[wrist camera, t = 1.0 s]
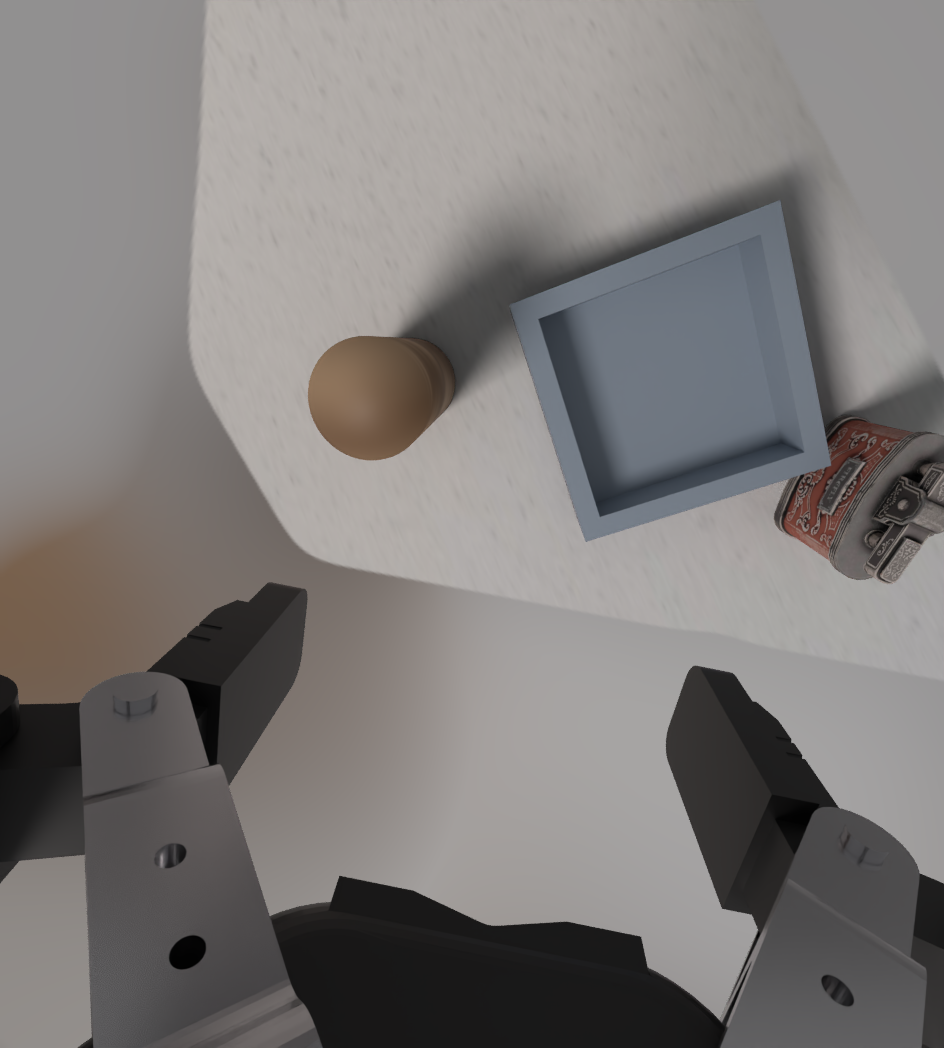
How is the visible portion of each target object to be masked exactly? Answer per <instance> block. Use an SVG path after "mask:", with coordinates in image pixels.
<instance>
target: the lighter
mask: <svg viewBox="0 0 944 1048" xmlns="http://www.w3.org/2000/svg"><path fill="white" fill-rule="evenodd" d="M824 430H825V435H826V440H827V445H828V451H829V456H830V461H831V466H828V467H825V468H822V469H819V470H815V471H812V472H809V473H806V474H802V475H799V476H796V477H793V478H790V479H789V480H788V482H787V484H786V486H785V488H784V490H783V493H782V495H781V498H780V500H779V503H778V506H777V508H776V511H775V514H774V521H775V525H776V526H777V527H778V529H779V530H781V531H782V532H783V533H785V534H786V535H788V536H790V537H791V538H795V539H799V540H800V541H802V542H803V543H804V544H806V545H807V546H809V547H810V548H812V549H813V550H815V551H816V552H818V553H819V554H820V555H822V556H823V557H825V558H826V559H828V560H829V561H830V563H831V564H832V566H833V567H834V568H835V569H836V570H838V571H839V572H841V573H842V574H844V575H845V576H847V577H848V578H852V579H856V580H866V579H869V578H872V577H874V578H875V579H877V580H878V581H880V582H882V583H885V584H893V583H895V582H896V581H897V580H898V579H899V578H900V576H901V575H902V574H903V572H904V571H905V569H906V568H907V567H908V565H909V564H910V562H911V561H912V560H913V558H914V557H915V555H916V554H917V553H918V551H919V550H920V548H921V547H922V546H923V544H924V543H925V541H926V540H927V538H928V537H930V536H932V535H934V534H938V533H941V532H943V531H944V436H943V435H939V434H935V433H930V432H915V433H913V432H909V431H904V430H900V429H895V428H891V427H886V426H882V425H877V424H873V423H871V422H869V421H868V420H866V419H864V418H860V417H855V416H851V415H848V416H841V417H838V418H835V419H834V420H833V421H832V422H830V423H829V424H828V426H827V427H826V428H825V429H824Z"/></svg>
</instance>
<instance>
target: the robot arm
mask: <svg viewBox="0 0 944 1048" xmlns="http://www.w3.org/2000/svg"><path fill="white" fill-rule="evenodd" d="M306 609H307V591H306V590H305V589H301V588H296V587H292V586H287V585H281V584H277V583H272V582H269V583H267V584H266V585H265V586H264V587H263V588H262V589H261V590H260V591H259V592H258V593H257V594H256V595H255V596H254V597H253V598H252V599H251V600H250V601H249V602H244V601H239V600H236V601H234V602H232V603H229V604H227V605H224V606H222V607H220V608H217V609H215V610H214V611H213V612H211V613H210V614H209V615H208V616H207V617H206V618H205V619H204V620H203V621H202V622H200V625H199V626H196V627H195V628H194V629H193V630H192V631H190V632H189V633H188V634H187V637H186V638H185V637H184V638H183V639H182V640H181V641H180V642H178V643H177V644H176V645H175V646H174V647H173V648H172V649H171V650H170V651H169V652H167V654H165V655H164V656H163V657H162V658H161V659H160V660H159V661H158V662H156V663H155V664H154V665H153V666H152V667H151V668H150V669H149V670H148V671H147V672H136V673H129V674H123V675H120V676H116V677H113V678H110V679H108V680H106V681H104V682H101V683H100V684H98V685H97V686H95V687H93V688H92V689H91V690H90V691H88V692H87V693H86V694H85V696H84V697H83V698H82V701H81V702H79V703H67V704H19V700H18V689H17V686H16V684H15V683H14V682H13V681H12V680H11V679H9V678H8V677H5V676H2V675H0V883H1V881H2V880H3V879H4V878H5V877H6V876H7V875H8V873H9V872H10V871H11V870H12V869H13V868H14V866H15V865H16V864H17V863H18V862H19V861H21V860H32V859H43V858H53V857H64V856H76V855H85V873H86V900H87V925H88V950H89V973H90V974H89V976H90V1001H91V1028H92V1038H90V1039H89V1040H88V1041H86V1042H85V1043H83V1044H82V1045H81V1046H79V1047H78V1048H944V884H943V883H941V882H939V881H936V880H934V879H931V878H929V877H927V876H925V875H922V874H920V873H919V870H918V866H917V864H916V862H915V860H914V859H913V857H912V856H911V855H910V853H909V852H908V851H907V850H906V848H905V847H904V846H903V845H902V844H901V843H900V842H899V841H898V840H896V839H895V838H894V837H893V836H892V835H891V834H889V833H888V832H887V831H885V830H884V829H883V828H881V827H880V826H878V825H876V824H875V823H873V822H872V821H870V820H868V819H866V818H864V817H862V816H860V815H858V814H855V813H853V812H850V811H847V810H844V809H840V808H839V807H838V806H837V805H836V803H835V802H834V800H833V799H832V797H831V796H830V795H829V793H828V792H827V790H826V789H825V787H824V786H823V784H822V783H821V782H820V780H819V779H818V777H817V776H816V774H815V773H814V771H813V770H812V769H811V767H810V766H809V765H808V763H807V761H806V760H805V759H802V754H801V753H800V751H799V750H798V748H797V747H796V745H795V744H794V743H791V738H790V737H789V735H788V734H787V733H786V731H785V730H784V728H783V727H782V725H781V724H780V723H779V721H778V720H777V719H776V718H774V717H773V716H772V715H771V714H770V713H769V712H768V711H766V710H765V709H764V708H763V707H762V706H761V705H759V704H758V703H757V702H753V701H752V700H751V699H750V697H749V696H748V694H747V693H746V691H745V690H744V688H743V687H742V685H741V684H740V682H739V681H738V679H737V677H736V676H735V675H734V674H733V673H730V672H725V671H720V670H715V669H710V668H705V667H700V666H693V667H692V668H691V669H690V670H689V672H688V674H687V676H686V679H685V682H684V685H683V688H682V690H681V693H680V696H679V699H678V702H677V705H676V708H675V710H674V714H673V716H672V719H671V722H670V725H669V728H668V732H667V738H666V753H667V759H668V762H669V765H670V768H671V771H672V773H673V776H674V779H675V781H676V784H677V787H678V790H679V792H680V795H681V798H682V800H683V803H684V806H685V809H686V811H687V814H688V817H689V820H690V822H691V825H692V828H693V831H694V833H695V836H696V839H697V841H698V844H699V847H700V850H701V852H702V855H703V858H704V860H705V863H706V866H707V869H708V872H709V874H710V877H711V880H712V882H713V885H714V888H715V891H716V893H717V896H718V899H719V902H720V904H721V907H722V909H727V910H732V911H737V912H742V913H747V914H752V916H753V918H754V921H755V923H756V925H757V928H758V931H757V933H756V936H755V938H754V940H753V942H752V944H751V947H750V949H749V951H748V954H747V956H746V959H745V961H744V963H743V965H742V968H741V970H740V973H739V975H738V977H737V980H736V982H735V985H734V987H733V989H732V991H731V994H730V996H729V998H728V1001H727V1003H726V1006H725V1008H724V1010H723V1013H722V1015H721V1017H720V1020H719V1019H718V1018H717V1017H716V1016H715V1015H714V1014H713V1013H712V1012H711V1011H710V1010H709V1009H707V1008H706V1007H705V1006H704V1005H703V1004H701V1003H700V1002H699V1001H698V1000H697V999H696V998H695V997H693V996H692V995H691V994H690V993H688V992H687V991H685V990H684V989H682V988H681V987H680V986H678V985H677V984H676V983H674V982H672V981H671V980H669V979H668V978H666V977H664V976H663V975H661V974H659V973H658V972H656V971H654V970H651V969H649V968H648V967H647V963H646V958H645V953H644V949H643V944H642V939H641V937H640V936H635V935H630V934H625V933H620V932H615V931H610V930H605V929H600V928H595V927H590V926H585V925H580V924H575V923H571V922H554V923H539V924H521V925H506V926H491V925H486V924H483V923H481V922H479V921H476V920H474V919H472V918H470V917H468V916H466V915H464V914H461V913H459V912H457V911H455V910H453V909H451V908H449V907H447V906H445V905H442V904H440V903H438V902H436V901H434V900H432V899H430V898H427V897H425V896H423V895H421V894H419V893H417V892H415V891H412V890H407V889H402V888H397V887H392V886H387V885H382V884H377V883H372V882H367V881H362V880H357V879H352V878H347V877H342V876H339V879H338V882H337V885H336V888H335V892H334V895H333V898H332V901H331V902H326V903H316V904H310V905H304V906H299V907H296V908H292V909H289V910H285V911H282V912H279V913H277V914H274V915H272V916H269V913H268V909H267V906H266V903H265V900H264V897H263V894H262V890H261V887H260V884H259V881H258V878H257V875H256V871H255V868H254V865H253V862H252V859H251V855H250V852H249V849H248V846H247V843H246V840H245V836H244V833H243V830H242V827H241V823H240V820H239V817H238V814H237V811H236V808H235V804H234V802H233V798H232V795H231V792H230V789H229V785H230V783H231V782H232V780H233V779H234V777H235V775H236V774H237V772H238V770H239V769H240V768H241V766H242V764H243V763H244V761H245V760H246V758H247V757H248V755H249V753H250V751H251V750H252V749H253V747H254V745H255V744H256V742H257V741H258V739H259V738H260V736H261V734H262V733H263V731H264V730H265V728H266V726H267V725H268V723H269V722H270V720H271V719H272V717H273V716H274V714H275V712H276V711H277V709H278V708H279V706H280V704H281V703H282V701H283V700H284V698H285V697H286V695H287V693H288V692H289V690H290V689H291V687H292V685H293V683H294V681H295V678H296V676H297V673H298V670H299V666H300V662H301V656H302V647H303V637H304V628H305V617H306Z"/></svg>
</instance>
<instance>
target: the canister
mask: <svg viewBox="0 0 944 1048" xmlns="http://www.w3.org/2000/svg"><path fill="white" fill-rule="evenodd" d="M454 390H455V376H454V371H453V367H452V365H451V363H450V361H449V359H448V358H447V356H446V355H445V354H444V352H443V351H442V350H440V349H439V348H438V347H437V346H435V345H434V344H432V343H430V342H428V341H425V340H422V339H415V338H396V337H375V336H358V337H352V338H349V339H345V340H343V341H341V342H339V343H337V344H335V345H334V346H332V347H331V348H329V349H328V350H327V351H326V352H325V353H324V354H323V355H322V357H321V358H320V359H319V360H318V362H317V364H316V365H315V367H314V369H313V372H312V374H311V378H310V381H309V388H308V401H309V407H310V412H311V415H312V418H313V420H314V422H315V424H316V426H317V428H318V430H319V431H320V433H321V434H322V436H323V437H324V438H325V439H326V440H327V441H328V442H329V443H330V444H331V445H332V446H333V447H335V448H336V449H338V450H339V451H341V452H343V453H344V454H346V455H349V456H351V457H354V458H358V459H363V460H381V459H386V458H389V457H392V456H395V455H397V454H399V453H400V452H402V451H404V450H405V449H406V448H408V447H409V446H410V445H411V444H412V443H413V442H414V441H415V440H416V439H417V438H418V437H419V436H420V435H421V434H422V433H423V432H424V431H425V430H426V429H427V428H428V427H429V426H430V425H431V424H432V423H433V422H434V421H435V420H436V419H437V418H438V417H439V416H440V415H441V414H442V413H443V412H444V411H445V410H446V408H447V407H448V406H449V404H450V402H451V400H452V397H453V394H454Z"/></svg>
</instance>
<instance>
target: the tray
mask: <svg viewBox="0 0 944 1048" xmlns="http://www.w3.org/2000/svg"><path fill="white" fill-rule="evenodd" d="M509 306H510V311H511V314H512V317H513V321H514V324H515V327H516V330H517V333H518V336H519V339H520V342H521V345H522V348H523V352H524V355H525V358H526V361H527V364H528V367H529V370H530V373H531V376H532V379H533V383H534V386H535V389H536V392H537V395H538V398H539V401H540V404H541V407H542V410H543V414H544V417H545V420H546V423H547V426H548V429H549V432H550V435H551V438H552V441H553V445H554V448H555V451H556V454H557V457H558V460H559V463H560V466H561V469H562V472H563V476H564V479H565V482H566V485H567V488H568V491H569V494H570V497H571V500H572V503H573V507H574V510H575V513H576V516H577V519H578V522H579V525H580V527H581V530H582V533H583V536H584V538H585V541H586V542H587V541H590V540H593V539H596V538H600V537H603V536H606V535H609V534H612V533H616V532H619V531H622V530H625V529H629V528H632V527H635V526H638V525H641V524H645V523H648V522H651V521H654V520H658V519H661V518H664V517H667V516H670V515H674V514H677V513H680V512H683V511H687V510H690V509H693V508H696V507H699V506H703V505H706V504H709V503H712V502H715V501H719V500H722V499H725V498H728V497H732V496H735V495H738V494H741V493H744V492H748V491H751V490H754V489H757V488H761V487H764V486H767V485H770V484H773V483H777V482H780V481H783V480H786V479H790V478H793V477H796V476H799V475H802V474H806V473H809V472H812V471H815V470H819V469H822V468H825V467H828V466H831V461H830V456H829V451H828V445H827V440H826V435H825V430H824V425H823V419H822V414H821V409H820V404H819V399H818V393H817V388H816V383H815V378H814V373H813V367H812V362H811V357H810V352H809V347H808V341H807V336H806V331H805V326H804V321H803V316H802V310H801V305H800V300H799V295H798V290H797V284H796V279H795V274H794V269H793V264H792V258H791V253H790V248H789V243H788V238H787V232H786V227H785V222H784V217H783V212H782V206H781V201H780V200H779V201H776V202H773V203H771V204H768V205H766V206H763V207H761V208H758V209H755V210H753V211H750V212H748V213H745V214H742V215H740V216H737V217H735V218H732V219H730V220H727V221H724V222H722V223H719V224H717V225H714V226H711V227H709V228H706V229H704V230H701V231H699V232H696V233H693V234H691V235H688V236H686V237H683V238H680V239H678V240H675V241H673V242H670V243H668V244H665V245H662V246H660V247H657V248H655V249H652V250H649V251H647V252H644V253H642V254H639V255H637V256H634V257H631V258H629V259H626V260H624V261H621V262H618V263H616V264H613V265H611V266H608V267H606V268H603V269H600V270H598V271H595V272H593V273H590V274H587V275H585V276H582V277H580V278H577V279H575V280H572V281H569V282H567V283H564V284H562V285H559V286H556V287H554V288H551V289H549V290H546V291H544V292H541V293H538V294H536V295H533V296H531V297H528V298H525V299H523V300H520V301H518V302H515V303H513V304H510V305H509Z"/></svg>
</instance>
